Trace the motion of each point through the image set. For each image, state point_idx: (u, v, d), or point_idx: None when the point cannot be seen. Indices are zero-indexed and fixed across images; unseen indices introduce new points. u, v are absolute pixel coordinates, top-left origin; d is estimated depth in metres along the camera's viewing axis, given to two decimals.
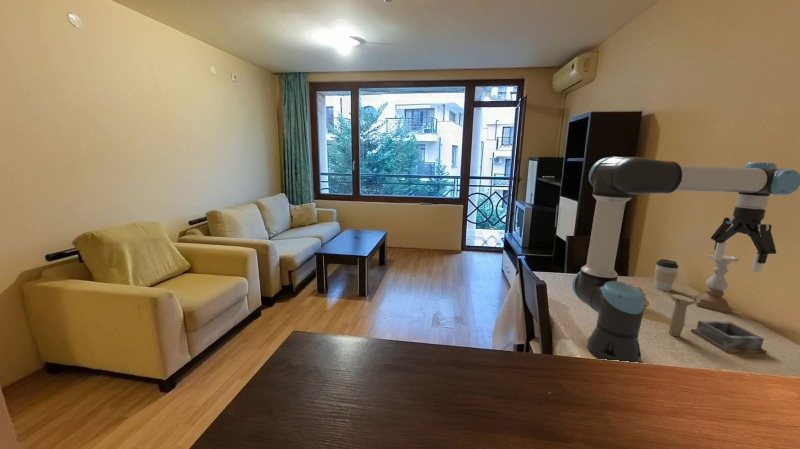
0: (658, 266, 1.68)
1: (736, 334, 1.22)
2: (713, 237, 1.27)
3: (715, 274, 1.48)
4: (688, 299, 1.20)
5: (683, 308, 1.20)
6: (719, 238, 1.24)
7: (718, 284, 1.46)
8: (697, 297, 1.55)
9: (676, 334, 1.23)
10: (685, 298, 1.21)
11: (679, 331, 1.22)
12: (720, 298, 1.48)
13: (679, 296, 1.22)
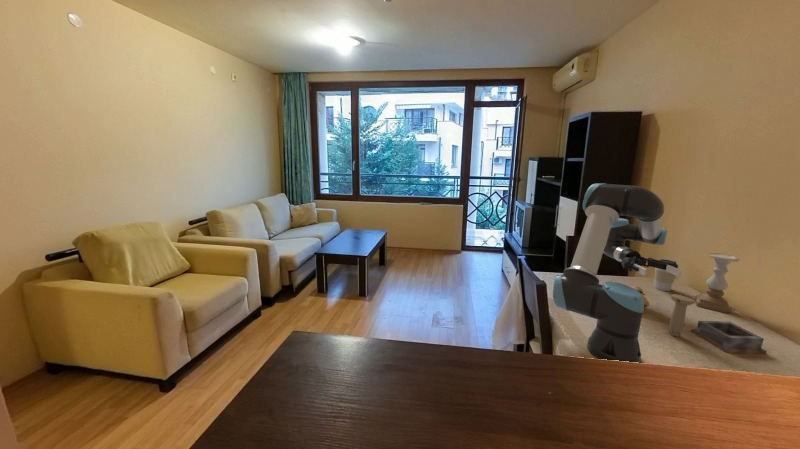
0: None
1: (736, 334, 1.22)
2: (626, 262, 1.39)
3: (715, 274, 1.48)
4: (688, 299, 1.20)
5: (684, 308, 1.20)
6: (631, 262, 1.39)
7: (718, 284, 1.46)
8: (697, 297, 1.55)
9: (676, 334, 1.23)
10: (685, 298, 1.21)
11: (679, 331, 1.22)
12: (720, 298, 1.48)
13: (679, 296, 1.22)
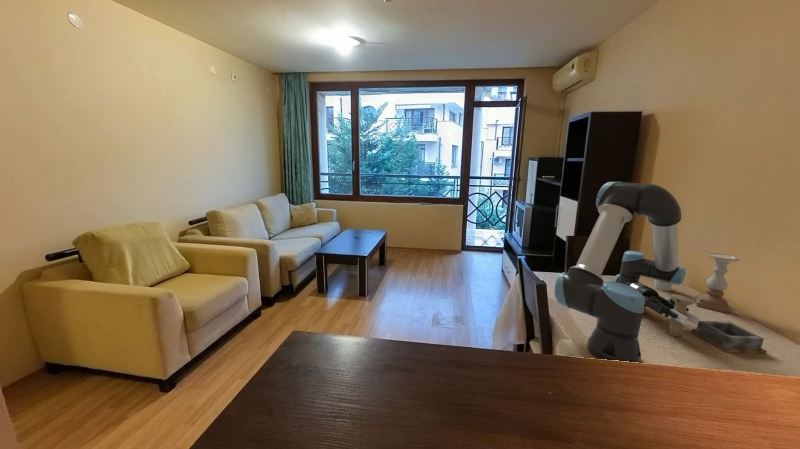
0: None
1: (736, 334, 1.22)
2: (661, 307, 1.25)
3: (715, 274, 1.48)
4: (688, 299, 1.20)
5: (683, 308, 1.20)
6: (665, 307, 1.25)
7: (718, 284, 1.46)
8: (697, 297, 1.55)
9: (676, 334, 1.23)
10: (685, 298, 1.21)
11: (679, 331, 1.22)
12: (720, 298, 1.48)
13: (679, 296, 1.22)
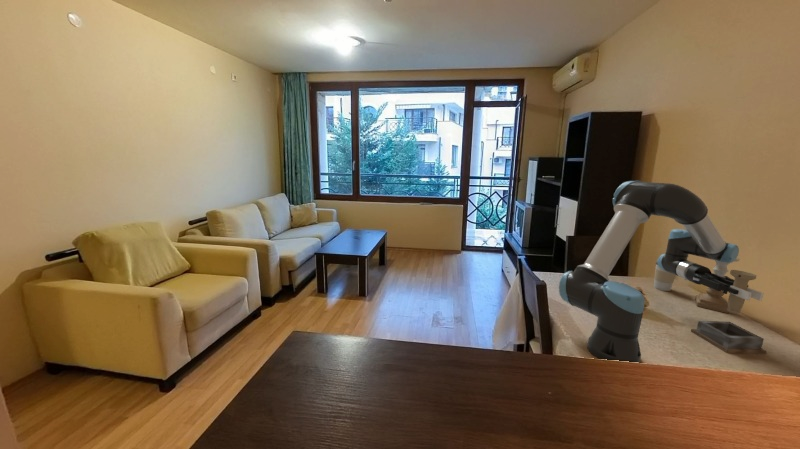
0: (658, 266, 1.68)
1: (736, 334, 1.22)
2: (719, 283, 1.19)
3: None
4: (750, 274, 1.14)
5: (745, 283, 1.15)
6: (723, 283, 1.20)
7: None
8: (697, 297, 1.55)
9: (736, 311, 1.17)
10: (746, 273, 1.15)
11: (739, 308, 1.16)
12: (720, 298, 1.48)
13: (739, 271, 1.17)
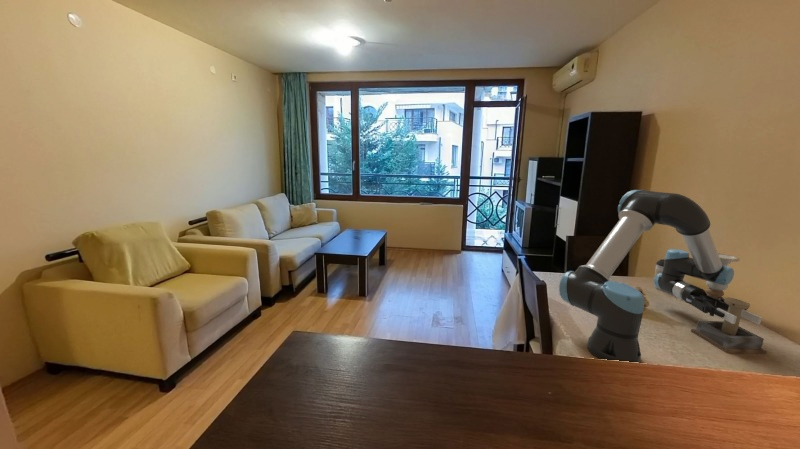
0: (658, 266, 1.68)
1: (736, 334, 1.22)
2: (706, 306, 1.21)
3: None
4: (744, 303, 1.16)
5: (738, 312, 1.16)
6: (711, 306, 1.22)
7: (718, 284, 1.46)
8: None
9: None
10: (740, 302, 1.17)
11: (733, 335, 1.18)
12: None
13: (733, 299, 1.18)
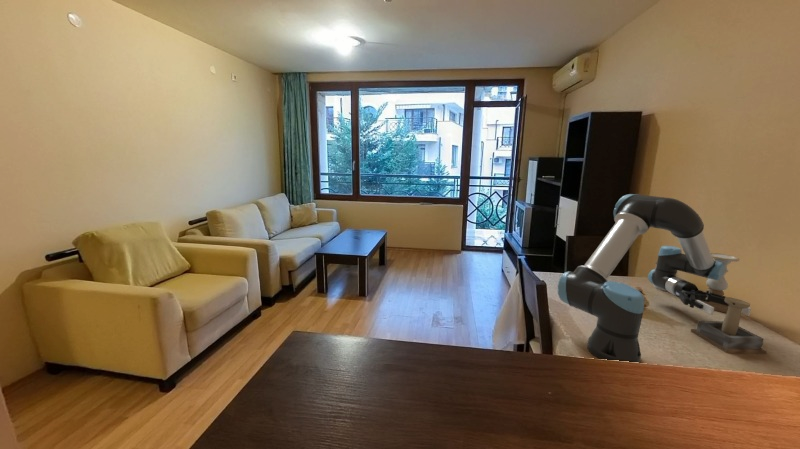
0: None
1: (736, 334, 1.22)
2: (687, 298, 1.27)
3: None
4: (744, 302, 1.16)
5: (739, 311, 1.17)
6: (693, 298, 1.28)
7: (718, 284, 1.46)
8: None
9: None
10: (740, 301, 1.17)
11: (733, 335, 1.18)
12: None
13: (733, 299, 1.19)
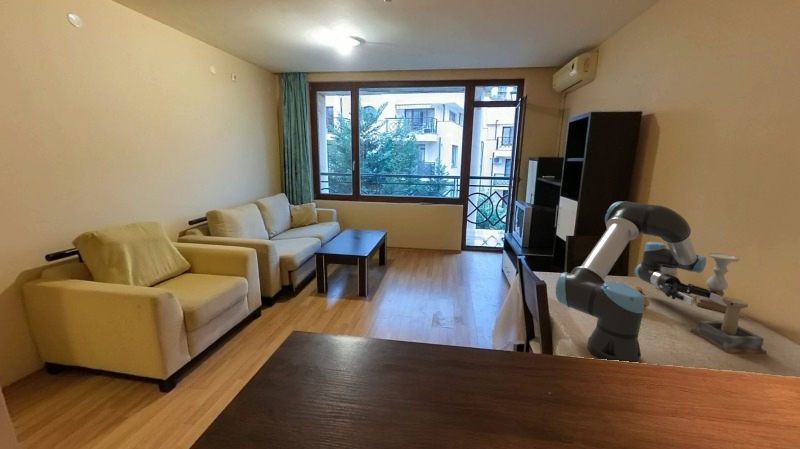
0: None
1: (736, 334, 1.22)
2: (669, 290, 1.35)
3: (715, 274, 1.48)
4: (742, 302, 1.16)
5: (737, 311, 1.17)
6: (674, 290, 1.35)
7: (718, 284, 1.46)
8: (697, 297, 1.55)
9: None
10: (738, 301, 1.17)
11: (732, 335, 1.18)
12: None
13: (731, 299, 1.19)
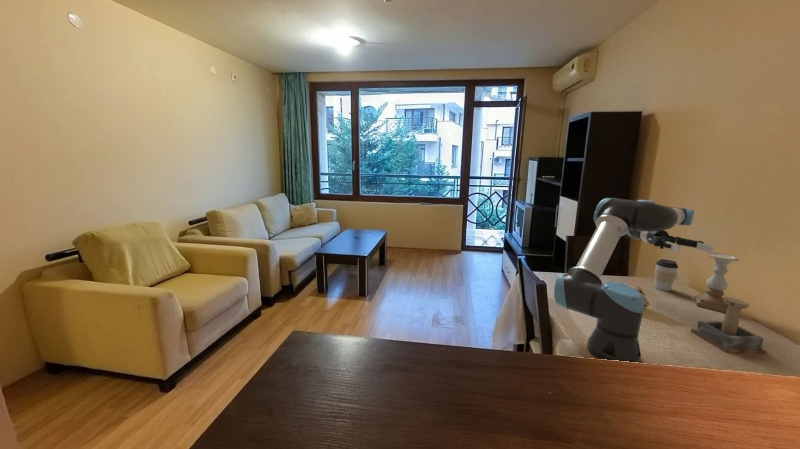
0: (658, 266, 1.68)
1: (736, 334, 1.22)
2: (657, 240, 1.39)
3: (715, 274, 1.48)
4: (743, 302, 1.16)
5: (738, 311, 1.17)
6: (663, 240, 1.40)
7: (718, 284, 1.46)
8: (697, 297, 1.55)
9: None
10: (739, 301, 1.17)
11: (732, 335, 1.18)
12: (720, 298, 1.48)
13: (732, 299, 1.19)
